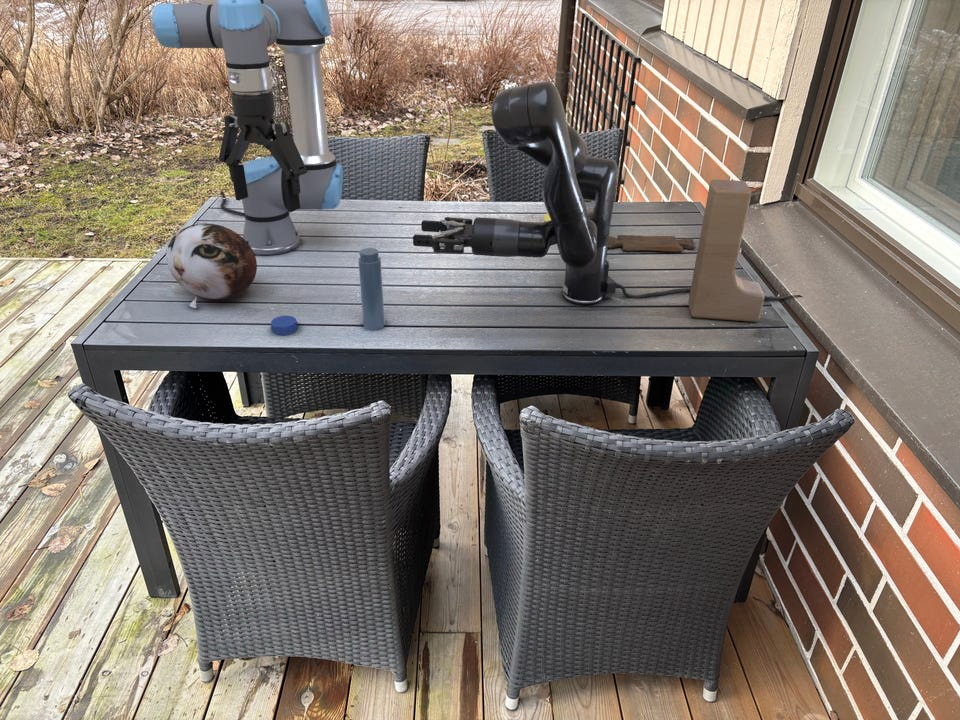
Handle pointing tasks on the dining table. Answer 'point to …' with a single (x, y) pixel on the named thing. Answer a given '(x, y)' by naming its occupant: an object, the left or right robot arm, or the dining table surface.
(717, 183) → the decorative block
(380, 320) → the blue-grey bottle
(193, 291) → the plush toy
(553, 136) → the right robot arm
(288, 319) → the lid
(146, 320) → the dining table surface
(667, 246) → the wooden paddle board
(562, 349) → the dining table surface
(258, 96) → the left robot arm
